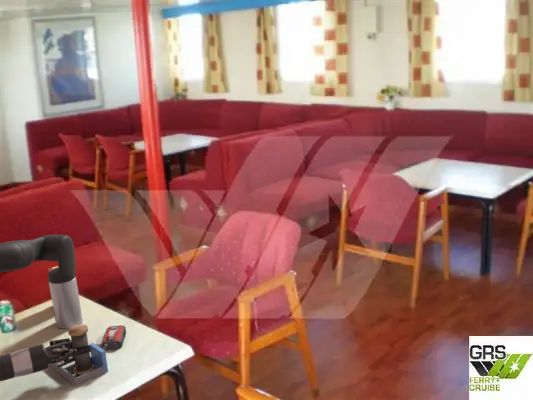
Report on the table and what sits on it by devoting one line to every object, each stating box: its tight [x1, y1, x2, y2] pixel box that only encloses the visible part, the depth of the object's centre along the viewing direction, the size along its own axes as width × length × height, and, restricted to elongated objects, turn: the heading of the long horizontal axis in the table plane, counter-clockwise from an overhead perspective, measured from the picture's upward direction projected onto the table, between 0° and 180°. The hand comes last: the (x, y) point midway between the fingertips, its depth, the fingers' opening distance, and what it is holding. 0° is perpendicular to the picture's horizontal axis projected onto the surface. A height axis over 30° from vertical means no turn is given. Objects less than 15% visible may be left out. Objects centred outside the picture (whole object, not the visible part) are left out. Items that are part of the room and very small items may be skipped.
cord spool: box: [67, 323, 95, 376], centre depth 190 cm, size 6×6×14 cm
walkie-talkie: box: [95, 324, 127, 351], centre depth 208 cm, size 9×4×20 cm
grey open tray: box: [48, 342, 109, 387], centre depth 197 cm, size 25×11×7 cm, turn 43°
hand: (87, 344), depth 191 cm, fingers closed on cord spool, 4 cm apart
